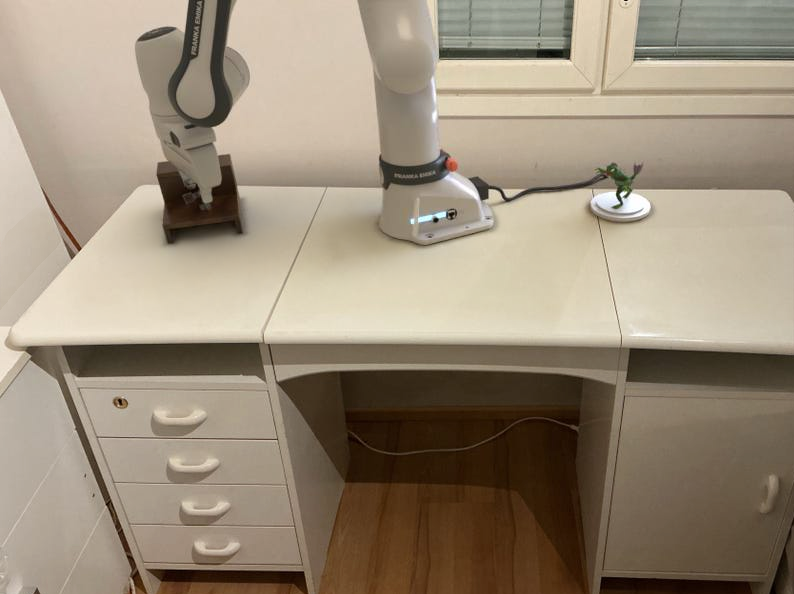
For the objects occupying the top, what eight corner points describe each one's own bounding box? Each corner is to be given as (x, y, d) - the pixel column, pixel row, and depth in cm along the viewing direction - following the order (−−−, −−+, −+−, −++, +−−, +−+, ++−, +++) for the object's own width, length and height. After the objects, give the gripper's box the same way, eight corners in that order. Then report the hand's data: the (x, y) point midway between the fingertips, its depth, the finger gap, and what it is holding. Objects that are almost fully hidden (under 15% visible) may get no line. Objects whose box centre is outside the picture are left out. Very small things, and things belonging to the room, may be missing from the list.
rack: (240, 199, 162) (230, 153, 156) (243, 233, 150) (232, 185, 144) (170, 208, 159) (157, 162, 153) (167, 244, 147) (153, 195, 141)
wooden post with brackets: (208, 211, 146) (198, 189, 145) (191, 216, 152) (181, 194, 151) (216, 208, 147) (206, 185, 146) (199, 213, 153) (189, 191, 152)
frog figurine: (579, 202, 159) (582, 154, 152) (628, 191, 163) (633, 144, 156) (610, 226, 150) (615, 177, 144) (661, 214, 154) (668, 165, 148)
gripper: (142, 113, 144) (163, 182, 153) (184, 144, 131) (203, 217, 140) (175, 105, 147) (193, 173, 156) (219, 134, 134) (236, 207, 143)
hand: (198, 194), depth 147 cm, fingers open, 7 cm apart
